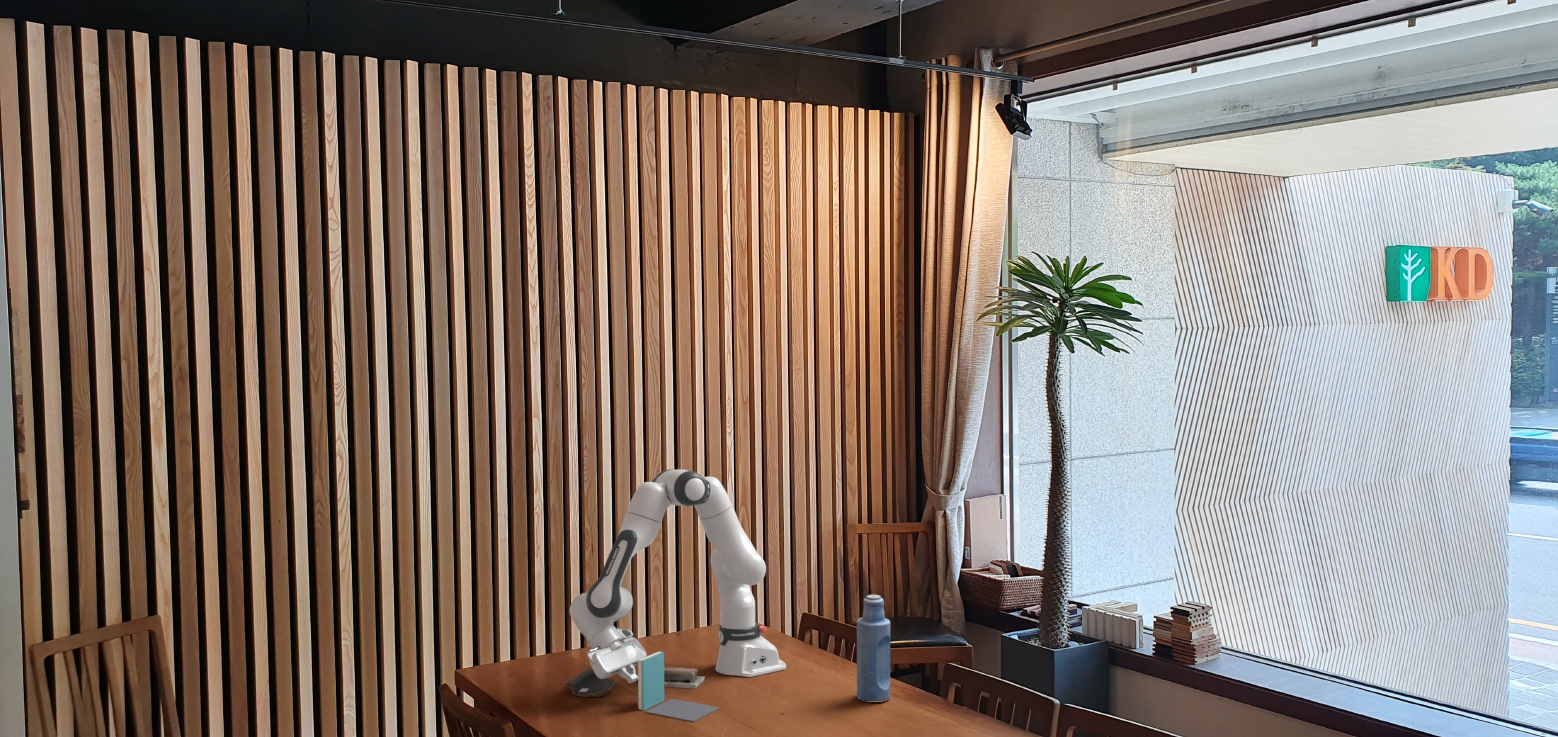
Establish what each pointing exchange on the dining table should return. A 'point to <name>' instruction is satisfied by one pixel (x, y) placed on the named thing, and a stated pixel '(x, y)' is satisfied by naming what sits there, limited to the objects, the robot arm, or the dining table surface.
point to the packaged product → (681, 677)
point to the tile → (650, 680)
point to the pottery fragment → (589, 684)
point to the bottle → (873, 651)
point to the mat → (682, 710)
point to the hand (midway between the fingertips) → (634, 680)
